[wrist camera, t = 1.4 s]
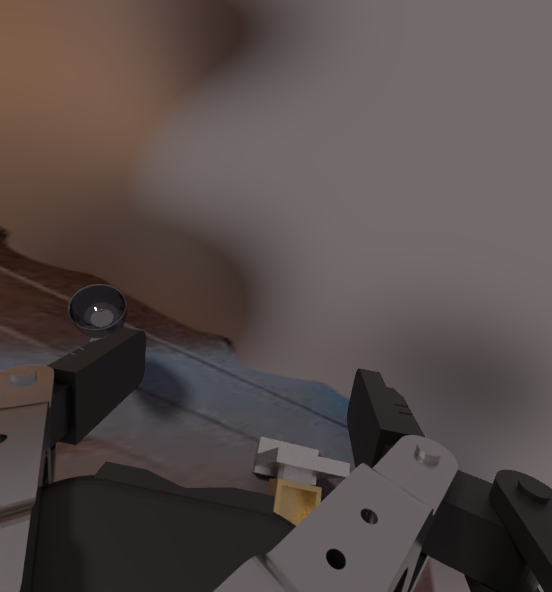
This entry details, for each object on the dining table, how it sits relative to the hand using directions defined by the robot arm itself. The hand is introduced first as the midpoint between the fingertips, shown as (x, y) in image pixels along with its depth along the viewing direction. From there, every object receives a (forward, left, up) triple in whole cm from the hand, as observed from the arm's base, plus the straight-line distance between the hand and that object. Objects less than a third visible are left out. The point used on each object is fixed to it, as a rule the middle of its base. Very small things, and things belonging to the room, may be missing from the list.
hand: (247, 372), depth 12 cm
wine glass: (+6, +25, -53) cm, 59 cm away
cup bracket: (+9, -17, -53) cm, 57 cm away
